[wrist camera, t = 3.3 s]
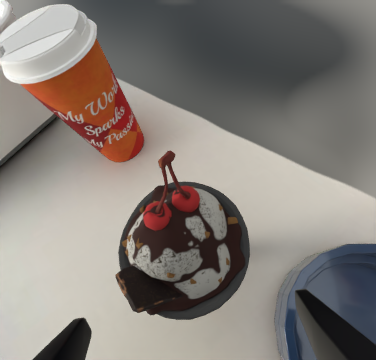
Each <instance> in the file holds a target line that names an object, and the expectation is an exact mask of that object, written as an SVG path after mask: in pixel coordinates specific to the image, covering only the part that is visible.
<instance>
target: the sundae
mask: <svg viewBox="0 0 376 360" xmlns="http://www.w3.org/2000/svg"><path fill="white" fill-rule="evenodd" d="M174 158H175V154H174V153H173V152H172V151H167V153H166V154H165V155H164V156H163V157H161V158H160V159H159V161H158V163H159V166H160V168H161V169H162V173H163V177H164V182H165V185H164V186H157V187H156V188H155V189H154V190H153V191H152V192H151V193H150V194H148V195H147V196H146V197H145V198H144V199H143V200H142V201H141V202H140V203H139V204H138V206H137V207H136V209H135V210H134V212H133V213H132V215H131V217H130V218H129V220H128V222H127V224H126V226H125V228H124V230H123V234H122V237H121V240H120V246H119V252H118V253H119V264H120V269H121V271H120V272H118V273H117V274H116V279H117V282H118V284H119V286H120V289H121V291H122V292H123V294H124V296H125V297H126V298H127V300H128V302H129V304H130V306H131V308H132V310H133V311H135V312H137V313H140V312H143V311H147V313H148V314H150V315H155V314H158V315H160V316H163V317H165V318H170V319H176V320H191V319H194V318H197V317H201V316H204V315H206V314H208V313H210V312H212V311H214V310H216V309H218V308H220V307H221V306H222V305H223V304H224V303H225V302H226V301H228V300H229V299H230V298H231V297H232V295H233V294H234V293H235V292H236V291H237V290H238V288H239V286H240V285H241V283H242V281H243V279H244V277H245V274H246V271H247V268H248V263H249V257H250V248H249V238H248V231H247V227H246V225H245V222H244V220H243V218H242V216H241V214H240V212H239V210H238V209H237V207H236V205H235V204H234V203H233V202H232V201H231V200H230V199H229V198H228V197H226V196H225V195H224V194H222V193H221V192H220V191H218V190H216V189H214V188H211V187H209V186H206V185H203V184H199V183H195V182H178V181H177V178H176V176H175V174H174V172H173V169H172V166H171V162H172V161H173V160H174ZM166 165H167V166H168V168H169V171H170V174H171V176H172V179H173V181H174V182H173V183H170V184H168V182H167V175H166V170H165V167H166Z"/></svg>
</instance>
